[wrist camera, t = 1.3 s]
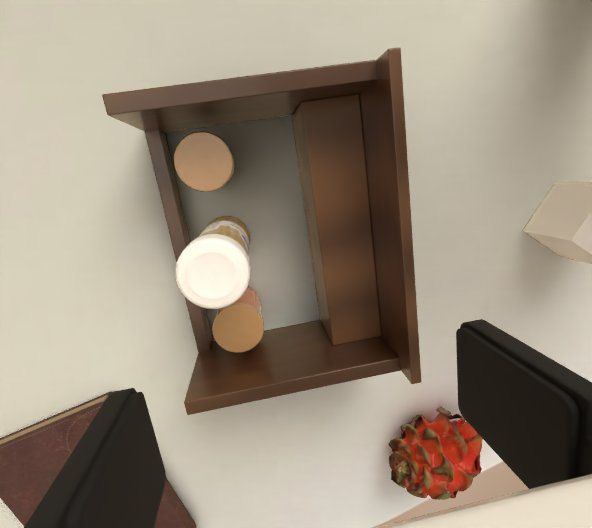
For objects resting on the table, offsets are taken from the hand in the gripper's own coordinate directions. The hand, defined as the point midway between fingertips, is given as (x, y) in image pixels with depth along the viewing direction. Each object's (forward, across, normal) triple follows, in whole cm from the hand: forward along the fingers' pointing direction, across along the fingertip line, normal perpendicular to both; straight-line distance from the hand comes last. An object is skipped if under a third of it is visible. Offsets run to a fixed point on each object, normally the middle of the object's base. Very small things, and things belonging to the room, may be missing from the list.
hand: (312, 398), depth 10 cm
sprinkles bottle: (+26, +4, -1) cm, 26 cm away
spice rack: (+26, -1, -1) cm, 26 cm away
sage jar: (+26, +4, -8) cm, 27 cm away
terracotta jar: (+26, +4, +6) cm, 27 cm away
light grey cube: (+25, -32, +2) cm, 41 cm away
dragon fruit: (+26, -15, +26) cm, 39 cm away
